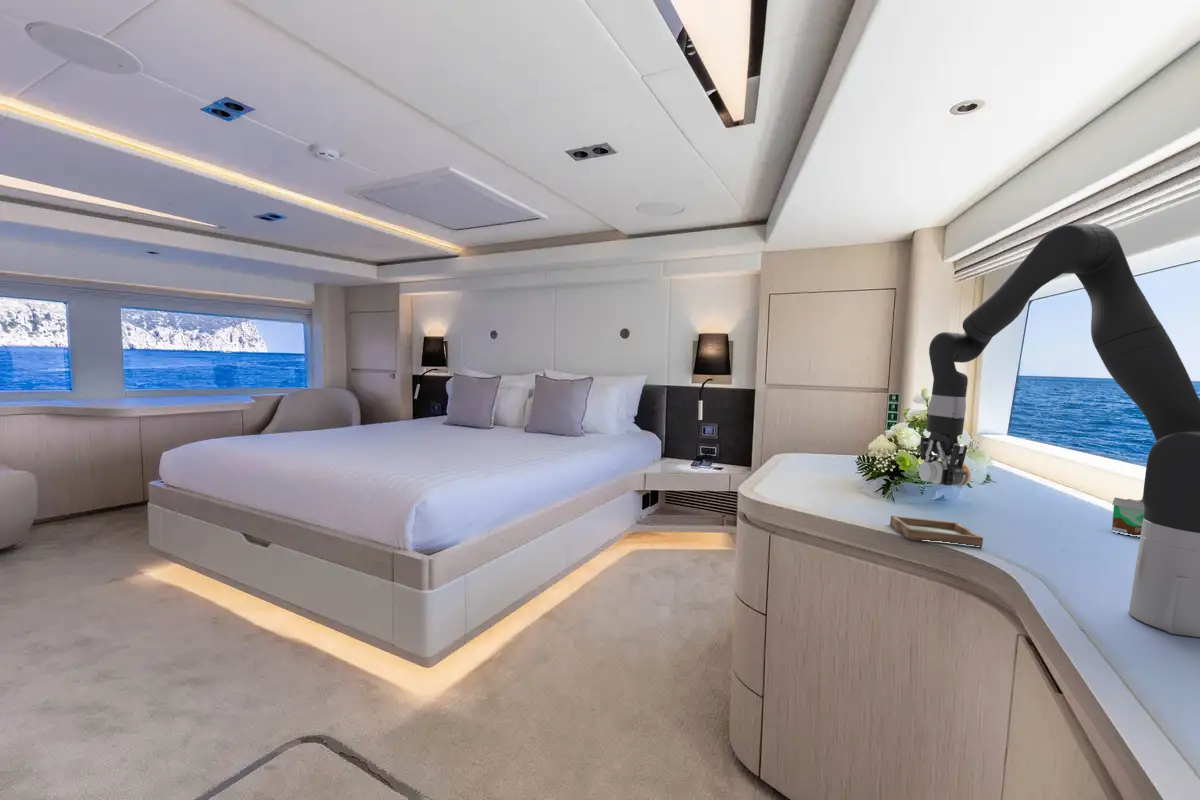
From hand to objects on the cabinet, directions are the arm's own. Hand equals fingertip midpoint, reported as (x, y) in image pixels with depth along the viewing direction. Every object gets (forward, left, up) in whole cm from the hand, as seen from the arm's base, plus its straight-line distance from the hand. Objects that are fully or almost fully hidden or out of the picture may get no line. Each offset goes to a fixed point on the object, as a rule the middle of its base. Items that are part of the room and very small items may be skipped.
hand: (938, 481), depth 130 cm
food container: (+23, -63, -14) cm, 68 cm away
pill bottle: (+1, -6, +2) cm, 7 cm away
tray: (0, -1, -14) cm, 14 cm away
